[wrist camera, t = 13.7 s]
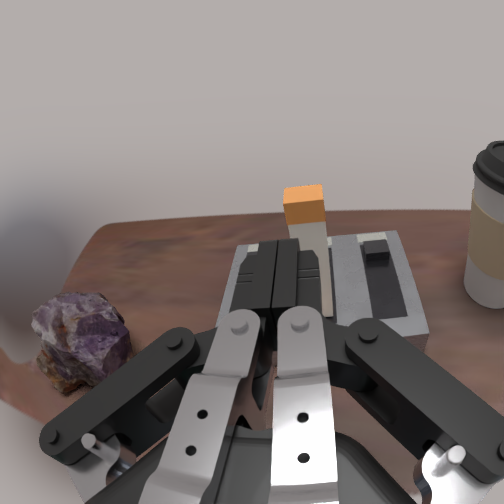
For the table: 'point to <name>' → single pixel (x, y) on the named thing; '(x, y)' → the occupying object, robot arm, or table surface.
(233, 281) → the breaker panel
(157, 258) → the table surface
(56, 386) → the rock
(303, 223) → the orange-capped grey post
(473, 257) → the coffee cup
